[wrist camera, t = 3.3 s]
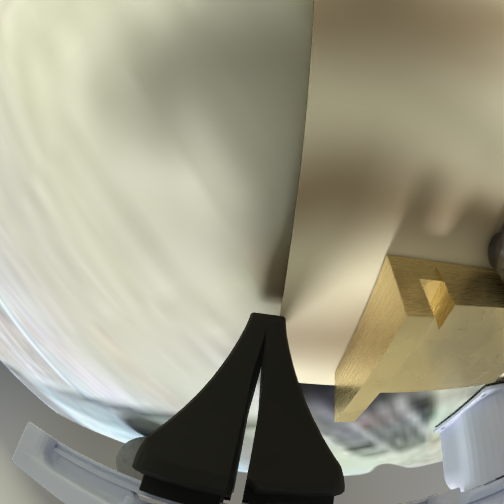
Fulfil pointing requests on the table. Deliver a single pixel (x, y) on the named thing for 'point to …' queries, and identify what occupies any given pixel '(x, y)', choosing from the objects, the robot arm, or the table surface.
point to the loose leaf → (423, 333)
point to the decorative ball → (129, 459)
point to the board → (391, 158)
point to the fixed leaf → (497, 252)
